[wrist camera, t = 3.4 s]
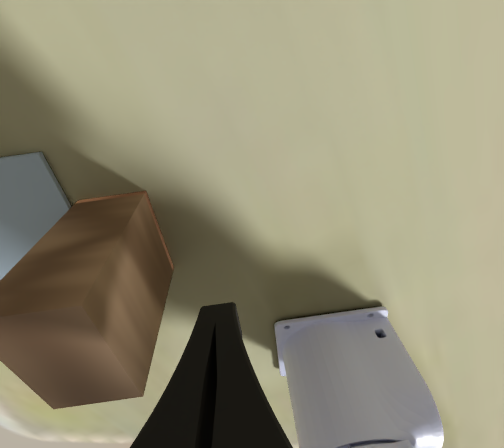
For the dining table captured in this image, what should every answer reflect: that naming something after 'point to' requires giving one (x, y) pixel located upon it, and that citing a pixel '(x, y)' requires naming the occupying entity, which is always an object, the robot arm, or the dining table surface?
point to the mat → (26, 205)
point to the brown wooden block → (88, 303)
